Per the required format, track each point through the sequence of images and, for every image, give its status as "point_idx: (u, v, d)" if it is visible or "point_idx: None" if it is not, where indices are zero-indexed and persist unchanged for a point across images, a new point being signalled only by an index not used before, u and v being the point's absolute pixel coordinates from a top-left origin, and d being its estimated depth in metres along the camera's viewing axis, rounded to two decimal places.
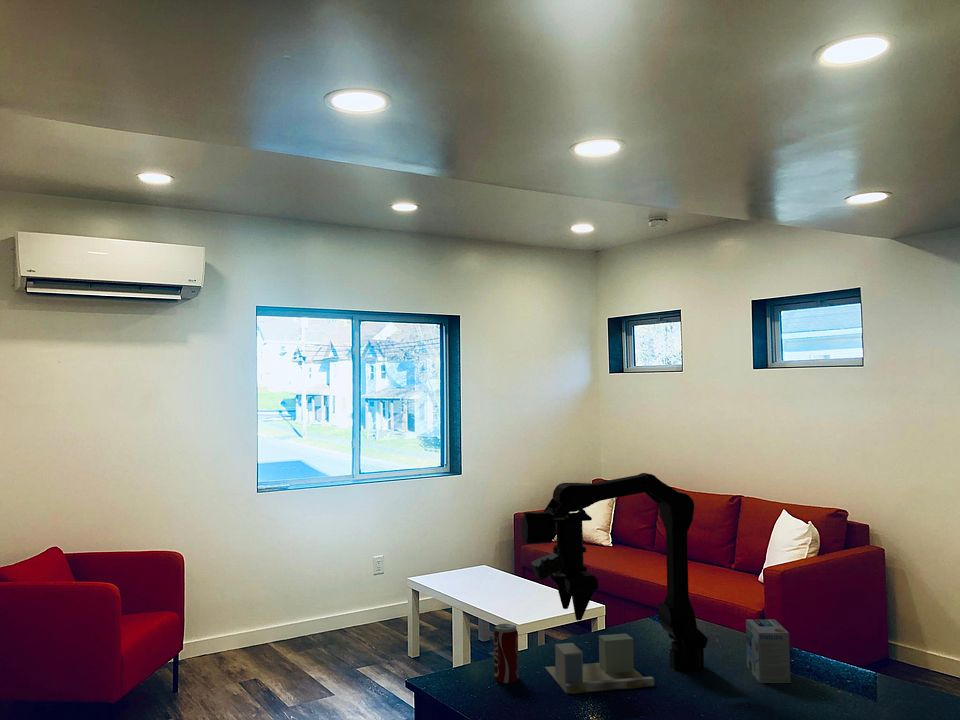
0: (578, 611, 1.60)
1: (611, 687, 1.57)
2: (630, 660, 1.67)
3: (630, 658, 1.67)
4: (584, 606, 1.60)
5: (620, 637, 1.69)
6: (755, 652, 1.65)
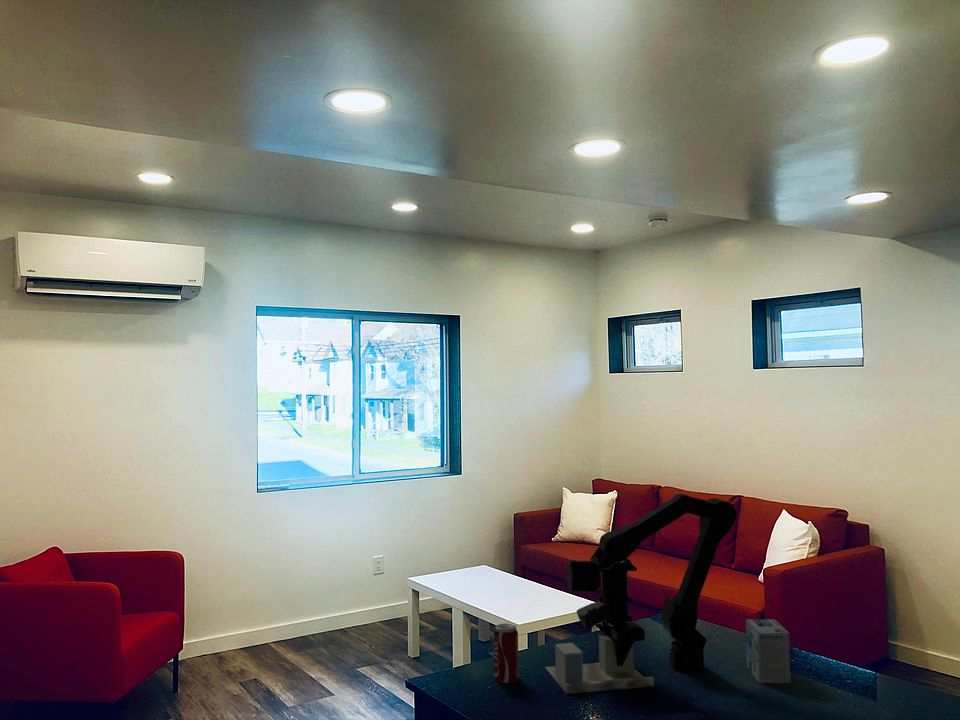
0: (620, 657, 1.66)
1: (611, 687, 1.57)
2: (630, 660, 1.67)
3: (630, 658, 1.67)
4: (626, 652, 1.66)
5: None
6: (755, 652, 1.65)
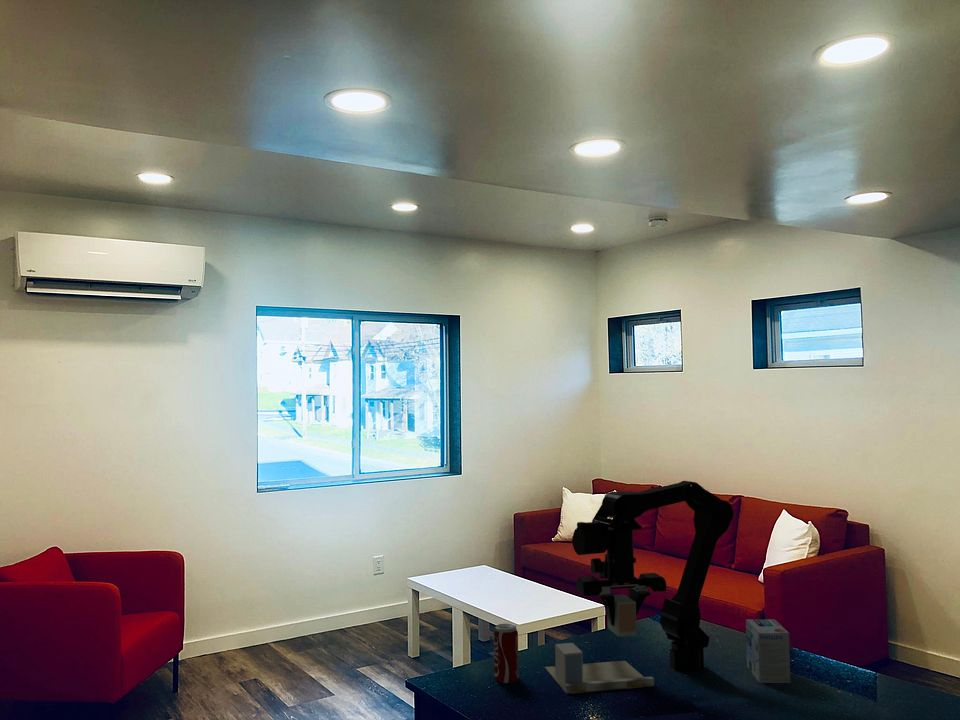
0: (608, 615, 1.64)
1: (611, 687, 1.57)
2: (617, 624, 1.62)
3: (617, 622, 1.62)
4: (608, 612, 1.63)
5: (619, 599, 1.64)
6: (755, 652, 1.65)
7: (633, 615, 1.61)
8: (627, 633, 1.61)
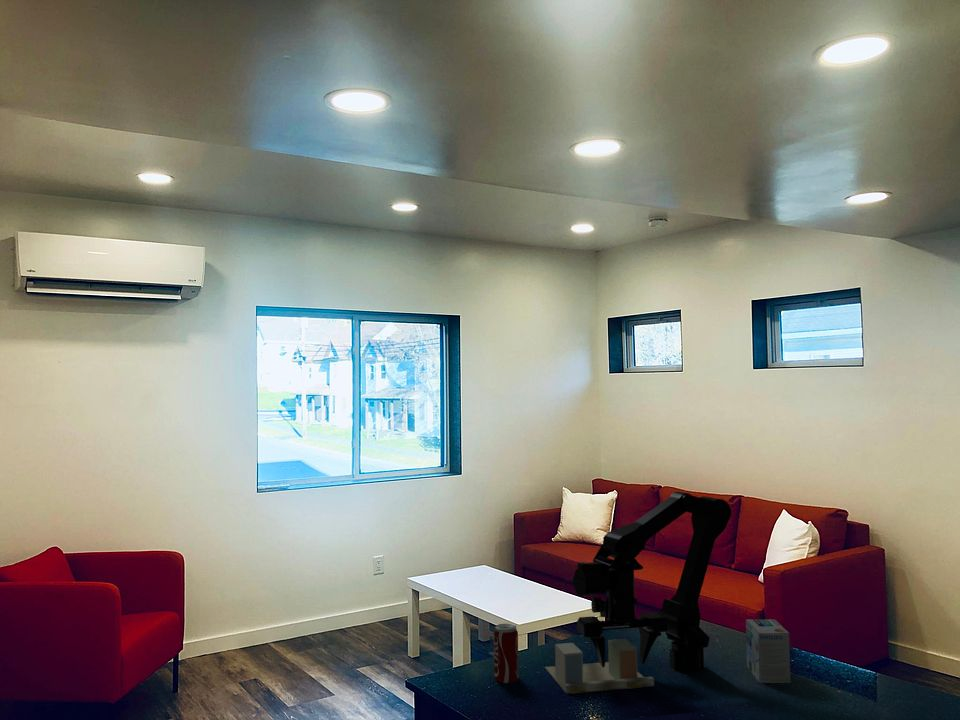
0: (598, 656, 1.63)
1: (611, 687, 1.57)
2: (618, 670, 1.61)
3: (618, 668, 1.61)
4: (599, 654, 1.62)
5: (620, 645, 1.63)
6: (755, 652, 1.65)
7: (634, 661, 1.61)
8: None
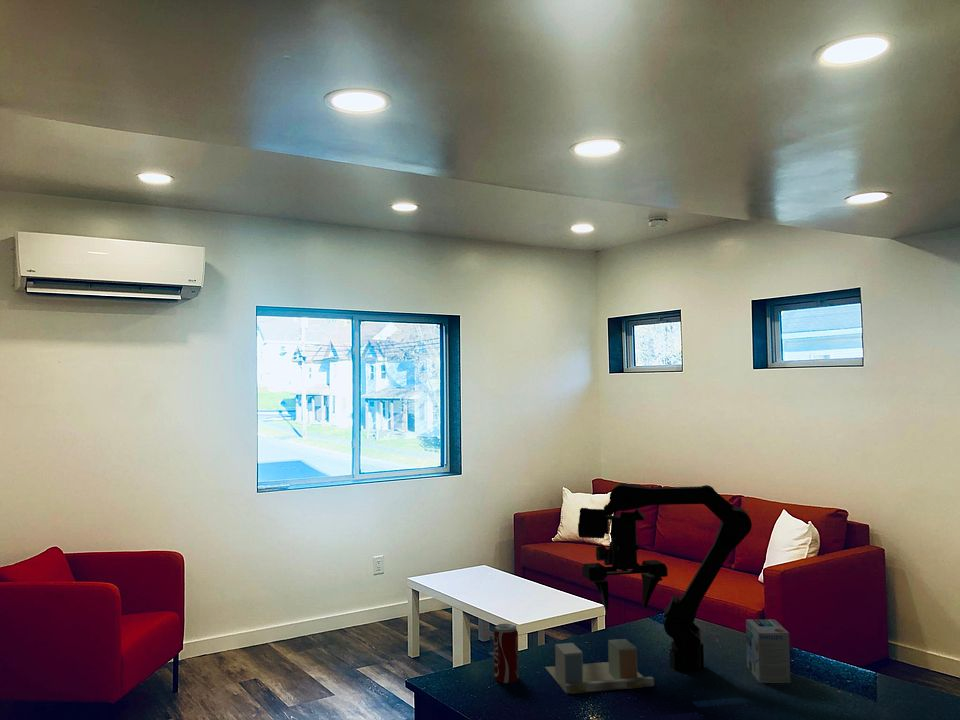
0: (602, 600, 1.73)
1: (611, 687, 1.57)
2: (618, 670, 1.61)
3: (618, 668, 1.61)
4: (603, 597, 1.72)
5: (620, 645, 1.63)
6: (755, 652, 1.65)
7: (634, 661, 1.61)
8: None
